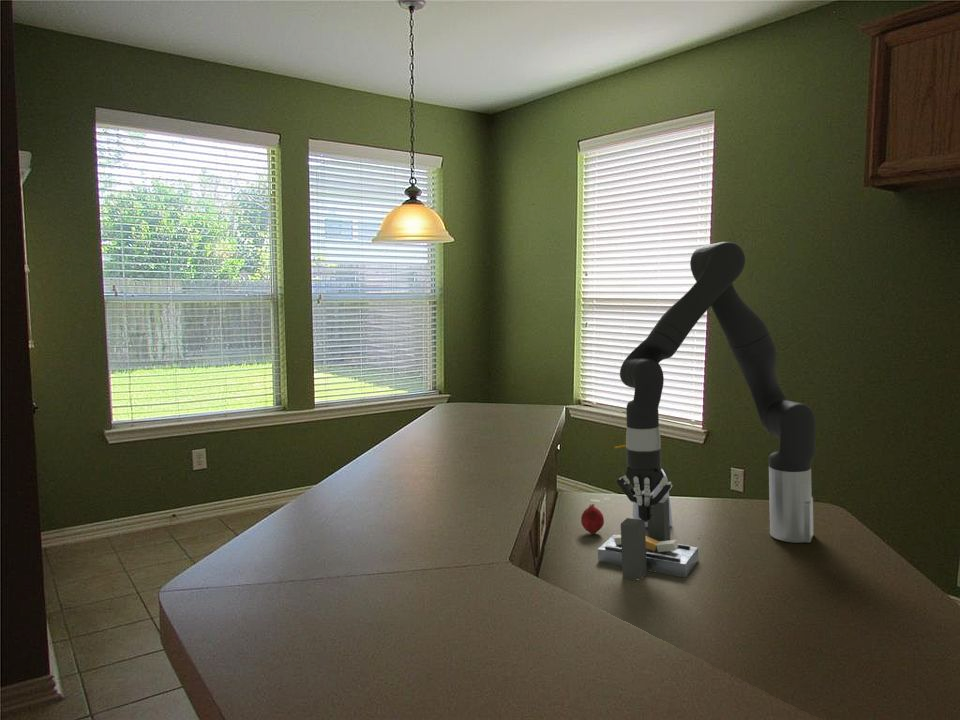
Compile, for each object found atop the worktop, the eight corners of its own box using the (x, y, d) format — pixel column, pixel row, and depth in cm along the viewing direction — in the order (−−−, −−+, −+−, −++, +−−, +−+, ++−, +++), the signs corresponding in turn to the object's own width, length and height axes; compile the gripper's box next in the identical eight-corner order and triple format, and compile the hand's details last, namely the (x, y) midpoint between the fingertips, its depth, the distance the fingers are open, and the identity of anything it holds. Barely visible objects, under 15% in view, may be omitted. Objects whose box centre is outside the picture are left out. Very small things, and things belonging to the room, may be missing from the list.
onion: (604, 538, 162) (602, 507, 161) (581, 538, 163) (579, 507, 163) (604, 530, 168) (603, 500, 167) (582, 529, 169) (580, 500, 168)
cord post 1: (646, 573, 140) (644, 520, 139) (640, 580, 137) (638, 526, 136) (629, 570, 143) (627, 518, 142) (622, 577, 139) (620, 523, 138)
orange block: (657, 547, 147) (659, 541, 146) (654, 551, 145) (656, 545, 144) (641, 540, 149) (642, 534, 148) (637, 544, 147) (639, 538, 146)
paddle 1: (635, 539, 149) (633, 533, 149) (631, 543, 147) (629, 536, 147) (619, 541, 152) (617, 534, 152) (615, 544, 150) (613, 538, 150)
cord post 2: (670, 546, 155) (668, 497, 153) (665, 552, 151) (663, 502, 150) (654, 543, 157) (652, 496, 156) (648, 549, 153) (646, 500, 152)
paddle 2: (678, 546, 144) (676, 539, 144) (675, 550, 142) (673, 543, 142) (661, 548, 146) (659, 541, 146) (658, 552, 144) (656, 545, 144)
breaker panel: (698, 560, 146) (697, 545, 145) (685, 577, 137) (685, 561, 137) (614, 546, 157) (613, 532, 156) (598, 561, 148) (597, 546, 148)
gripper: (677, 444, 144) (679, 519, 146) (621, 440, 151) (623, 511, 153) (667, 452, 138) (669, 530, 139) (609, 447, 145) (612, 521, 147)
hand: (645, 520), depth 146 cm, fingers closed
